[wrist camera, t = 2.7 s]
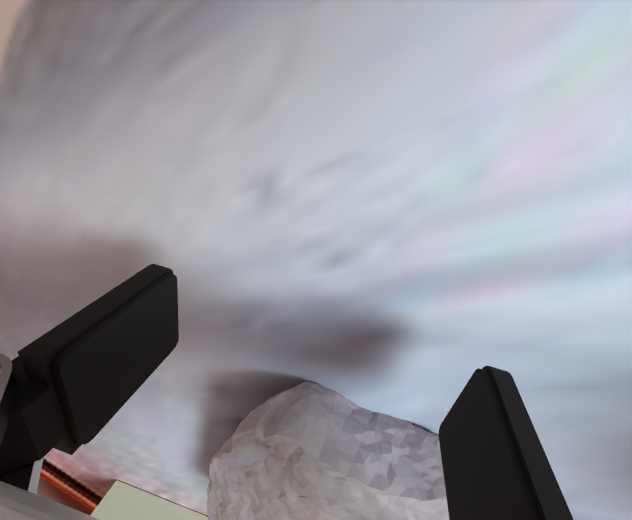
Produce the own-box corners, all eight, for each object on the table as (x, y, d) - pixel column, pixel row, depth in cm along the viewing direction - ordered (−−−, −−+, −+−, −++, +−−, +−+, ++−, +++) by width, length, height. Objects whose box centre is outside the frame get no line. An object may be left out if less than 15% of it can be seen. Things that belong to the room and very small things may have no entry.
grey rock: (237, 449, 21) (368, 547, 19) (182, 523, 17) (343, 660, 15) (285, 321, 16) (480, 440, 13) (222, 386, 11) (488, 574, 9)
